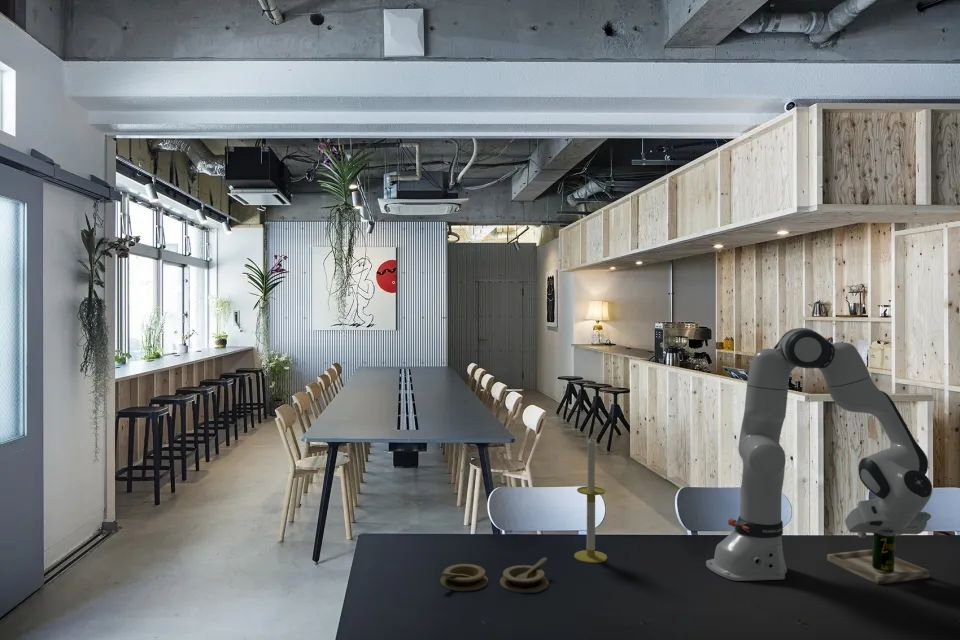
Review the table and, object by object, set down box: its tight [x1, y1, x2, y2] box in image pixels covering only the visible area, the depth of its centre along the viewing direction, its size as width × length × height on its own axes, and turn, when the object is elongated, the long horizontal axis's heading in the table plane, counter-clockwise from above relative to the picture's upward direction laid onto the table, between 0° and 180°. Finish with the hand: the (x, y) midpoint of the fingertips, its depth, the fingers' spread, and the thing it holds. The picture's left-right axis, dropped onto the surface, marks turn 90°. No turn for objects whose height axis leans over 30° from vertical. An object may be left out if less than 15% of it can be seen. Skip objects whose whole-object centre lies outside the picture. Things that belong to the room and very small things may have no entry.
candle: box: [573, 433, 608, 564], centre depth 203 cm, size 10×10×38 cm
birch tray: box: [826, 548, 930, 585], centre depth 194 cm, size 18×18×2 cm
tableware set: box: [440, 557, 549, 594], centre depth 184 cm, size 30×20×6 cm, turn 87°
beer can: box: [872, 531, 897, 574], centre depth 191 cm, size 5×5×12 cm
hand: (875, 535), depth 195 cm, fingers open, 7 cm apart
